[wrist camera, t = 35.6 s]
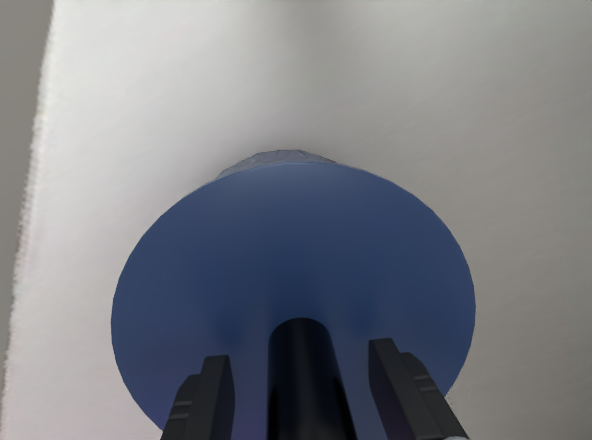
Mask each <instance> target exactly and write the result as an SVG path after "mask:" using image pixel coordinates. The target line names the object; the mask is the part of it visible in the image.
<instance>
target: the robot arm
mask: <svg viewBox="0 0 592 440" xmlns="http://www.w3.org/2000/svg"><path fill="white" fill-rule="evenodd" d="M368 377H369V385H370V390H371V393H372V396H373V399H374V402H375V405H376V408H377V410H378V413H379V416H380V419H381V422H382V424H383V427H384V430H385V433H386V436H387V438H388V440H470V439H469V437H468V436H467V434H466V433H465V431H464V429H463V428H462V426H461V425H460V423H459V421H458V420H457V418H456V416H455V415H454V413H453V411H452V410H451V408H450V407H449V405H448V403H447V402H446V400H445V398H444V397H443V395H442V394H441V392H440V390H438V387H437V385H436V384H435V382H434V380H433V379H431V376H430V374H429V372H428V371H427V369H426V367H425V366H424V364H423V363H422V362H421V361H420V360H419V359H418V358H416V357H415V356H414V355H413V354H411V353H410V352H404V353H400V352H399V350H398V348H397V347H396V345H395V343H394V341H393V339H392V338H382V339H373V340H369V344H368ZM234 412H235V388H234V382H233V376H232V370H231V364H230V358H229V355H228V354H226V355H217V356H207V357H205V359H204V362H203V366H202V369H201V373H200V374H195V375H189V376H188V377H187V379H186V380H185V381H184V382H183V384H182V385H181V386H180V387H179V389H178V391H177V394H176V397H175V400H174V402H173V407H172V408H171V411H170V414H169V418H168V420H167V422H166V425H165V428H164V431H163V434H162V437H161V439H160V440H231V435H232V428H233V420H234Z"/></svg>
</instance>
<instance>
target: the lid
mask: <svg viewBox="0 0 592 440" xmlns="http://www.w3.org/2000/svg"><path fill="white" fill-rule="evenodd" d="M475 308H476V305H475V295H474V286H473V282H472V278H471V274H470V271H469V267H468V264H467V262H466V260H465V257H464V255H463V253H462V250H461V248H460V246H459V244H458V243H457V241H456V240H455V238H454V237H453V235H452V234H451V232H450V230H449V229H448V227H447V226H446V225H445V224H444V223H443V222H442V221H441V220H440V218H439V217H438V216H437V215H436V214H435V213H434V212H433V211H432V210H431V209H430V208H429V207H427V206H426V205H425V204H424V203H423V202H421V201H420V200H419V199H418V198H417V197H415V196H414V195H413V194H411V193H409V192H408V191H406V190H404V189H403V188H401V187H399V186H398V185H396V184H394V183H393V182H391V181H389V180H387V179H384V178H382V177H379V176H377V175H375V174H372V173H370V172H368V171H365V170H361V169H358V168H354V167H350V166H346V165H342V164H337V163H329V162H321V161H313V160H311V161H281V162H274V163H267V164H260V165H255V166H252V167H248V168H245V169H241V170H238V171H234V172H231V173H229V174H226V175H224V176H222V177H220V178H217V179H215V180H213V181H210V182H208V183H206V184H204V185H203V186H201V187H199V188H198V189H196V190H194V191H193V192H191V193H190V194H188V195H186V196H185V197H183V198H182V199H181V200H180V201H178V202H177V203H176V204H175V205H173V206H172V207H171V208H170V209H169V210H167V211H166V212H165V213H164V214H163V215H161V216H160V217H159V218H158V220H157V221H156V222H155V223H154V224H153V225H152V226H151V227H150V228H149V229H148V230H147V232H146V233H145V234H144V235H143V236H142V238H141V239H140V241H139V242H138V244H137V245H136V247H135V248H134V250H133V251H132V253H131V254H130V256H129V258H128V260H127V262H126V264H125V266H124V268H123V271H122V273H121V275H120V277H119V281H118V284H117V288H116V291H115V295H114V298H113V306H112V315H111V334H112V345H113V350H114V354H115V359H116V363H117V366H118V368H119V371H120V374H121V376H122V379H123V381H124V383H125V385H126V387H127V388H128V390H129V392H130V394H131V395H132V397H133V399H134V400H135V402H136V403H137V404H138V405H139V407H140V408H141V409H142V411H143V412H144V413H145V414H146V415H147V416H148V417H149V418H150V419H151V420H152V421H153V422H154V423H155V424H156V425H157V426H158V427H159V428H160V429H161V430H162V431H164V428H165V425H166V422H167V420H168V418H169V414H170V411H171V408H172V407H173V402H174V400H175V397H176V394H177V391H178V389H179V387H180V386H181V385H182V384H183V382H184V381H185V380H186V379H187V377H188V376H189V375H195V374H200V373H201V369H202V366H203V362H204V359H205V357H207V356H217V355H226V354H228V355H229V358H230V364H231V370H232V376H233V382H234V388H235V412H234V420H233V428H232V435H231V440H388V438H387V436H386V433H385V430H384V427H383V424H382V422H381V419H380V416H379V413H378V410H377V408H376V405H375V402H374V399H373V396H372V393H371V390H370V385H369V377H368V344H369V340H373V339H382V338H392V339H393V341H394V343H395V345H396V347H397V348H398V350H399V352H400V353H404V352H410V353H411V354H413V355H414V356H415V357H416V358H418V359H419V360H420V361H421V362H422V363H423V364H424V366H425V367H426V369H427V371H428V372H429V374H430V376H431V379H433V380H434V382H435V384H436V385H437V387H438V390H440V392H441V394H442V395H443V397H445V395H446V394H447V392H448V391H449V389H450V388H451V386H452V385H453V383H454V382H455V381H456V379H457V377H458V375H459V373H460V371H461V369H462V367H463V365H464V363H465V360H466V357H467V354H468V351H469V348H470V346H471V341H472V336H473V331H474V326H475Z"/></svg>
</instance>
